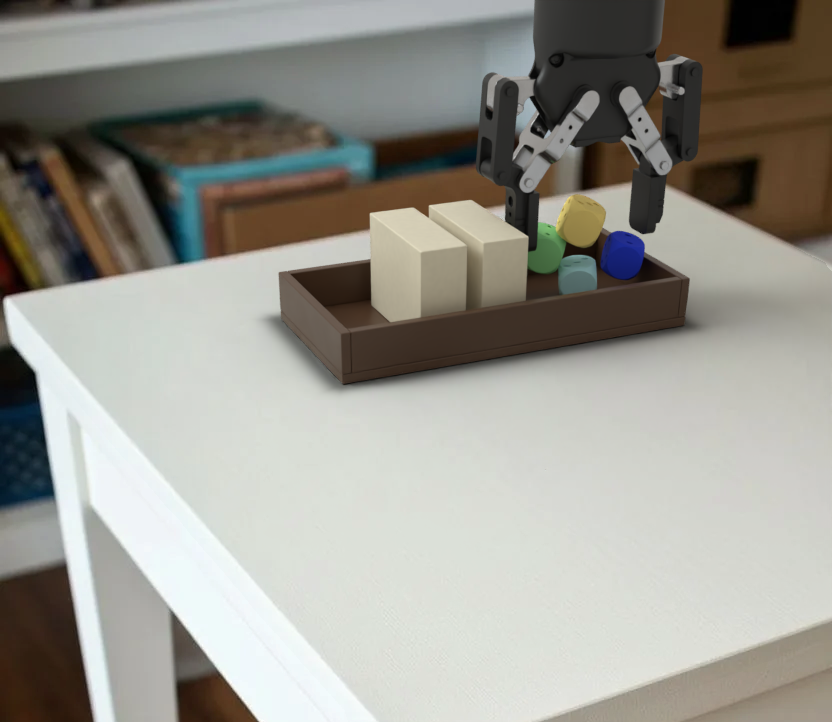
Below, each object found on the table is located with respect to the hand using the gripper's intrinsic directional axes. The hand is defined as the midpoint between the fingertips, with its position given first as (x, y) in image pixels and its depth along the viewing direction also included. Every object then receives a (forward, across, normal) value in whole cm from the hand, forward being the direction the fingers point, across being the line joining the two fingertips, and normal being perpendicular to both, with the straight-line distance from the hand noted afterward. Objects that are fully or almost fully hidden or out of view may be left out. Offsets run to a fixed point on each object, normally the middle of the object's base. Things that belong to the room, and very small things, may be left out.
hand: (583, 239), depth 88 cm
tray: (+4, +7, 0) cm, 8 cm away
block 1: (+4, +12, 0) cm, 12 cm away
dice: (+4, 0, 0) cm, 4 cm away
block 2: (+4, +8, 0) cm, 8 cm away
